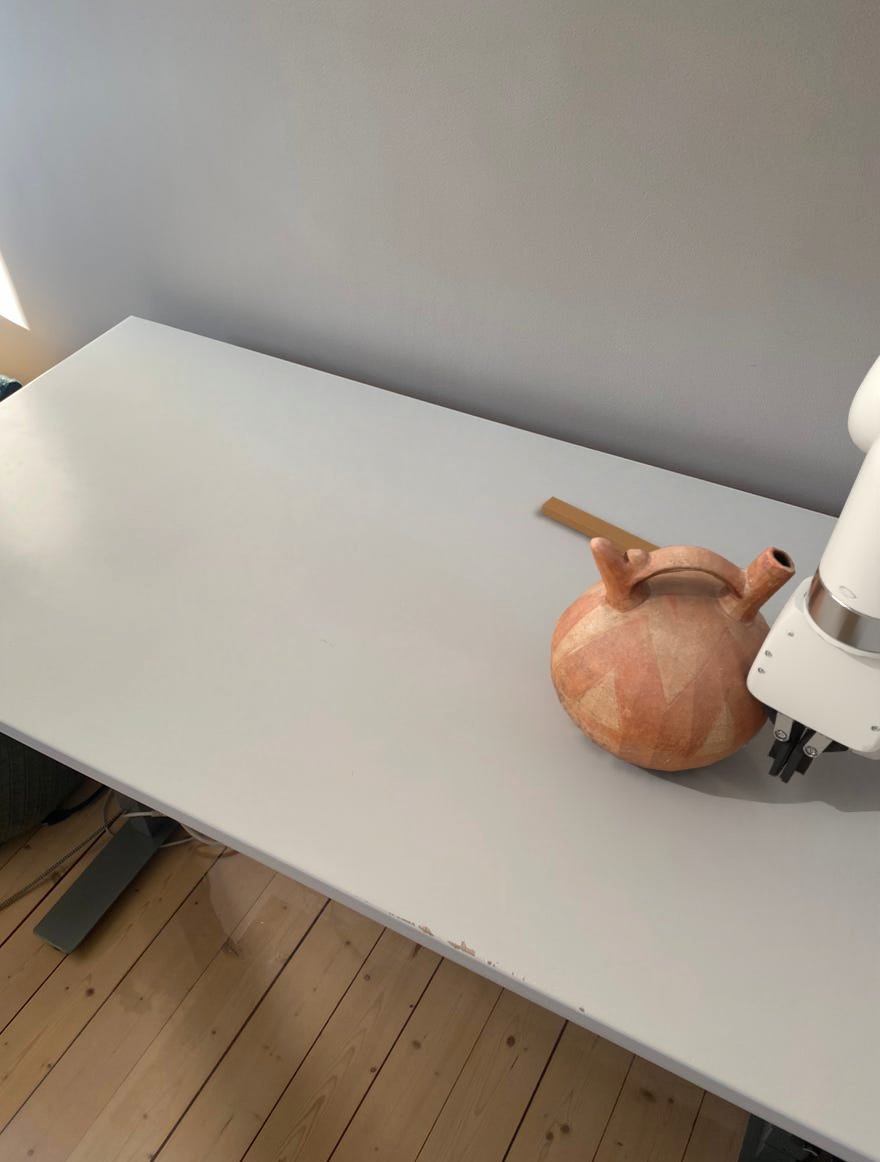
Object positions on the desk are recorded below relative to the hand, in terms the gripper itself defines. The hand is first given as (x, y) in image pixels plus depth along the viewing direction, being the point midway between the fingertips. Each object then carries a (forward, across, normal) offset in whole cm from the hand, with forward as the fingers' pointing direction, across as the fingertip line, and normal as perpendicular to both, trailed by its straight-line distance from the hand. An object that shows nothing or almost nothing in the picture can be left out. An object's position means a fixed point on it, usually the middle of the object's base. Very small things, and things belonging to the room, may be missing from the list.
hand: (785, 767), depth 73 cm
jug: (+4, +12, -1) cm, 13 cm away
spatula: (+4, +24, -19) cm, 31 cm away
